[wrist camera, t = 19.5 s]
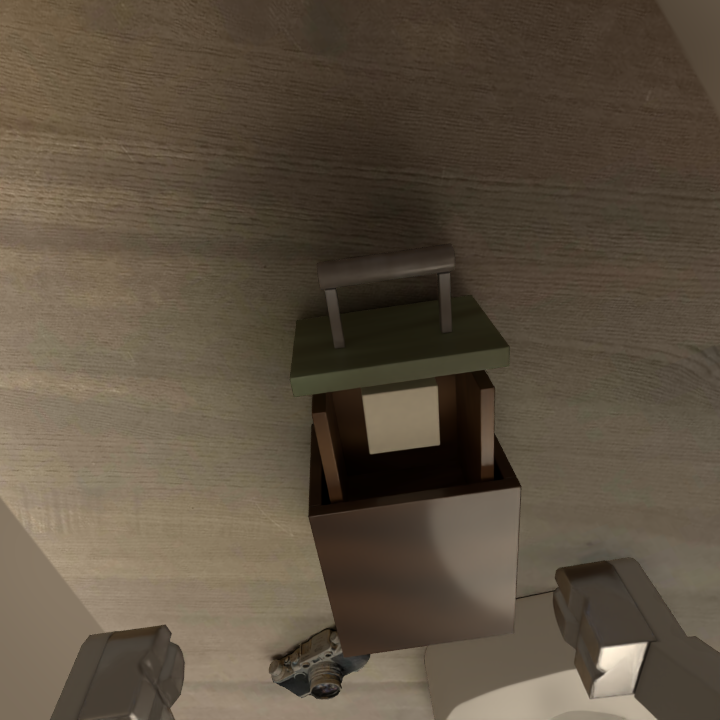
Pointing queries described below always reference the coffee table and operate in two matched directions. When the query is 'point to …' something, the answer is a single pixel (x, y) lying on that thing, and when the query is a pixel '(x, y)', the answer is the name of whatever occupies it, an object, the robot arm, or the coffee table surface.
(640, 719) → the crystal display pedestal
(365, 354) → the drawer
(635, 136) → the coffee table surface
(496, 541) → the cabinet
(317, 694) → the camera
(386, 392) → the block
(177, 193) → the coffee table surface
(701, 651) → the robot arm
